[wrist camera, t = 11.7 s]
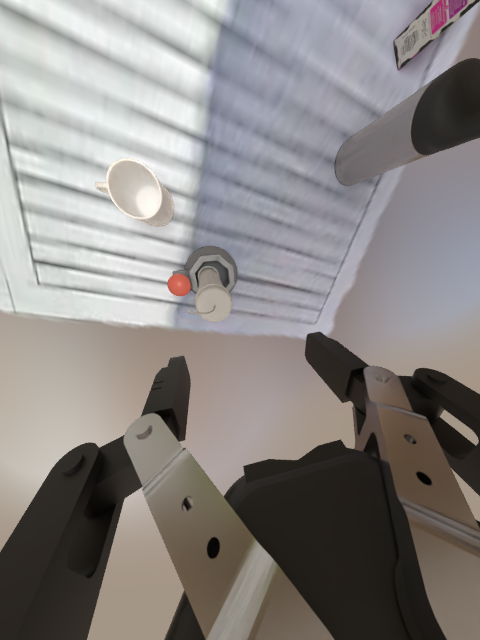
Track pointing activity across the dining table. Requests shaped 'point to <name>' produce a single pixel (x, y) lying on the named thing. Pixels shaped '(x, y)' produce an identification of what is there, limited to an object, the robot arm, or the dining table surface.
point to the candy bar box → (429, 27)
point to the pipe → (212, 296)
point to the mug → (138, 192)
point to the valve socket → (201, 257)
